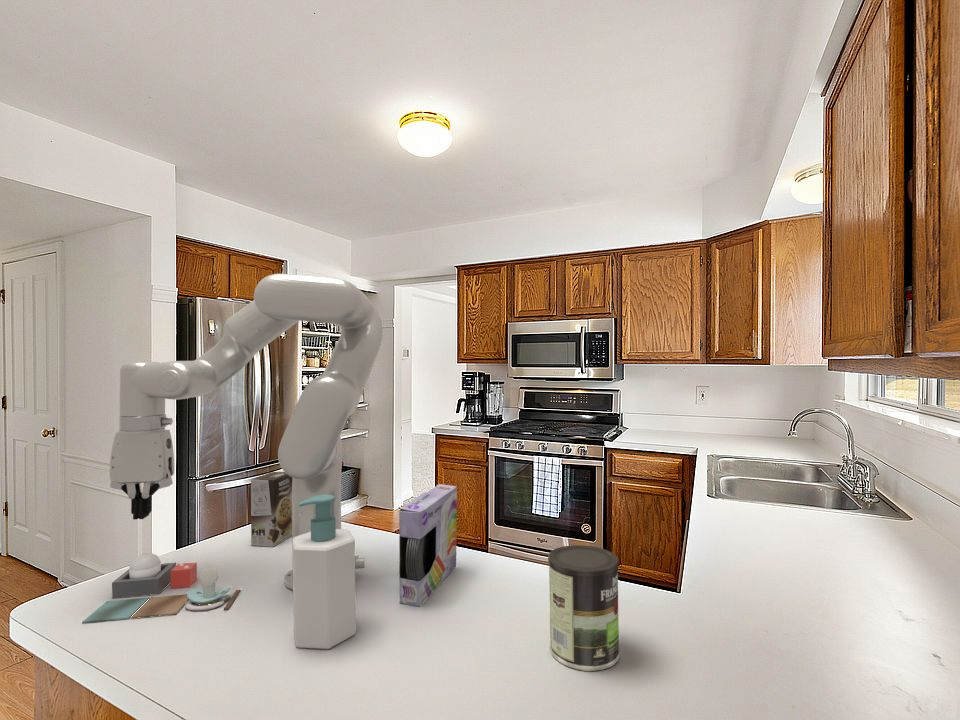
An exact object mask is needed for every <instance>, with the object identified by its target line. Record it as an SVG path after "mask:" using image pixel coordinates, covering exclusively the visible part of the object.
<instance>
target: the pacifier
mask: <svg viewBox="0 0 960 720" xmlns="http://www.w3.org/2000/svg"><path fill="white" fill-rule="evenodd" d="M218 577H219V574H218V571H217V569H216V568H214V567H211V566H210V567H206V568H205V569H203V570H202V572H201V573H200V577H199V578H200V579H199V580H200V583H201V585H202V588H201V589H200V588H191V589H188V590H187V592H186V594H187V597H188V599H189V600H188V602H187V603H186V604H185V605H184V606H185V608H186V609H187V610H189V611H195V612H196V611H200V612H201V611H207V610H211V609H212V610H213V609H216V608H218V607H221V605H223V604H224V602H225V600H224V599H223V598H221V597H223V596H224V595H225V594H227V593H228V592H229V591H231V586H227V587H225V588H223V589H220V590H217V591H216V582H217V580H218ZM196 603H197V605H196ZM198 604H200V605H198ZM208 604H211V605H208Z"/></svg>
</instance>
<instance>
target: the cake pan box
mask: <svg viewBox="0 0 960 720" xmlns="http://www.w3.org/2000/svg"><path fill="white" fill-rule="evenodd" d="M457 491H458V486H457V485H449V484H443V483H442V484H441V483H440V484H439V483H438V484H436V486H435V487H432V488H431V489H430V490H428V491H426V492H425V491H424V492H423V493H421V494H420V495H418V496H417V497H416V498H415V499H413V500H411V501H409V502H408V503H407V504H405V505H403V506H402V507H400V508H399V510H398V516H399V517H398V518H399V520H398V521H399V523H398V525H399V530H398V533H399V535H398V537H399V540H398V541H399V543H398V544H399V548H398V549H399V556H398V557H399V561H398V562H399V563H398V564H399V565H398V566H399V567H398V568H399V569H398V570H399V571H398V575H399V576H398V580H399V581H398V582H399V583H398V584H399V591H398V592H399V601H398V602H399V604H401V605H405V606H412V607H419V608H420V607H422V606H423V605H424V603H425V602H427V600H428V599H429V597H430V596H431V595H433V593H434V592H435V591H436V590H437V589H438V588H439V586H440V585H441V584H442V583H443V582H444V580H446V579H447V578H448V576H449V575H450V574H451V573H452V572H453V571H454V569H455V568H456V567H457V516H458V515H457V513H458V511H457V509H458V505H457V504H458V497H457V496H458V492H457Z"/></svg>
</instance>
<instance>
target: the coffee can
mask: <svg viewBox="0 0 960 720" xmlns="http://www.w3.org/2000/svg"><path fill="white" fill-rule="evenodd" d="M547 558H548V559H547V561H548V564H549V565H548V566H549V572H548V573H549V615H550V616H549V617H550V619H549V621H550V622H549V624H550V625H549V627H550V629H549V630H550V633H549V634H550V645H549V650H550V653H551V655H552V657H553V658H554V659H555V660H556V661H557V662H559V663H560V664H561V665H564V666H566V667H568V668H571V669H573V670H579V671H583V672H585V671H586V672H598V671H604V670H607V669H609V668H611V667H613V666H614V665H616V664H617V663H618V661H619V660H620V655H621V654H620V638H619V637H620V635H619V633H620V631H619V628H620V626H619V568H618V567H619V558H618V556H617V555H616V554H615V553H613V552H611V551H610V550H607V549H604V548H603V547H602V548H601V547H597V546H592V545H584V544H583V545H581V544H578V545H577V544H575V545H572V544H571V545H564V546H560V547H556V548H554V549H552V550H551V551H550V552H548V555H547Z"/></svg>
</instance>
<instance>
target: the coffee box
mask: <svg viewBox="0 0 960 720" xmlns="http://www.w3.org/2000/svg"><path fill="white" fill-rule="evenodd" d="M292 479H293V478H292V477H290V476H289V475H287V474H286V473H285V472H284V471H278V472H277V471H272V472H269V473H266V474H262V475H260V476H257V477H255V478H251V479H250V545H251V546H255V547H256V546H257V547H267V548H274V547H276V546H277V545H278V546H279V544H280V543H282V542H284V541H286V540H288V539H289V538H292Z"/></svg>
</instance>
